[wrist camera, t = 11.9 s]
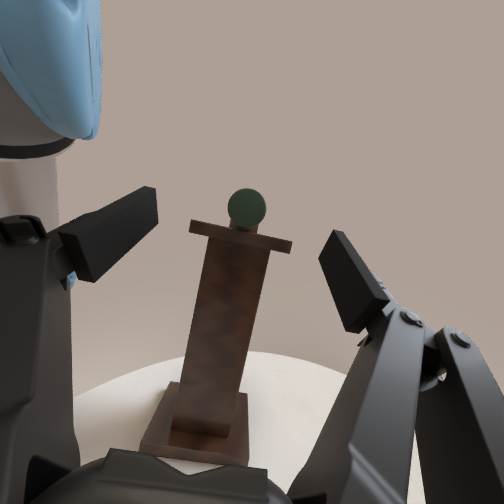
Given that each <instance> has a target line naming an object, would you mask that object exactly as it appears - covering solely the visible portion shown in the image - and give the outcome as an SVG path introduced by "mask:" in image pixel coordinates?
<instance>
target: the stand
mask: <svg viewBox="0 0 504 504" xmlns="http://www.w3.org/2000/svg"><path fill="white" fill-rule="evenodd" d="M189 232H190V233H195V234H199V235H204V236H209V239H208V244H207V249H206V254H205V259H204V264H203V269H202V274H201V279H200V284H199V289H198V294H197V299H196V304H195V309H194V314H193V319H192V324H191V329H190V334H189V339H188V344H187V349H186V354H185V359H184V364H183V369H182V374H181V379H180V383H178V382H172V381H171V382H170V383H169V385H168V387H167V389H166V391H165V394H164V396H163V398H162V400H161V402H160V404H159V406H158V408H157V410H156V412H155V414H154V416H153V418H152V420H151V422H150V424H149V426H148V428H147V430H146V432H145V434H144V436H143V438H142V440H141V442H140V447H139V452H143V453H150V454H152V455H154V456H161V457H169V458H176V459H184V460H192V461H199V462H207V463H214V464H222V465H230V464H231V465H238V466H245V467H247V466H248V462H249V429H248V396H247V393H241V392H239V387H240V383H241V378H242V374H243V370H244V365H245V361H246V356H247V352H248V347H249V343H250V338H251V334H252V330H253V325H254V321H255V317H256V312H257V307H258V303H259V299H260V294H261V290H262V286H263V281H264V277H265V273H266V268H267V264H268V259H269V255H270V251H271V250H274V251H278V252H283V253H287V254H289V253H290V250H291V246H292V242H291V241H288V240H283V239H278V238H274V237H269V236H265V235H260V234H256V233H251V232H247V231H242V230H238V229H233V228H229V227H224V226H220V225H215V224H211V223H206V222H201V221H197V220H191V222H190V227H189Z"/></svg>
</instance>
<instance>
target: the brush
mask: <svg viewBox="0 0 504 504" xmlns="http://www.w3.org/2000/svg"><path fill="white" fill-rule="evenodd" d="M228 213H229V216H230V218H231V221H230V226H229V228H233V229H238V230H242V231H247V232H251V233H256V234H257V230H258V225H259V223H260V222H261V221H262V220H263V218H264V216H265V213H266V203H265V200H264V198H263V197H262V195H261V194H260V193H259V192H257V191H255V190H253V189H249V188H247V189H246V188H245V189H240V190H238V191H236V192H235V193H234V194H233V195H232V196H231V198H230V199H229V202H228Z"/></svg>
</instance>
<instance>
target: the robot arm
mask: <svg viewBox="0 0 504 504" xmlns="http://www.w3.org/2000/svg"><path fill="white" fill-rule="evenodd" d="M101 73H102V29H101V11H100V0H0V504H407V495H408V485H409V476H410V467H411V458H412V449H413V439H414V430H415V433H416V440H417V447H418V454H419V460H420V467H421V474H422V481H423V487H424V494H425V501H426V504H504V396H503V394H502V392H501V390H500V388H499V386H498V384H497V382H496V381H495V379H494V377H493V375H492V373H491V371H490V369H489V367H488V365H487V364H486V362H485V360H484V358H483V356H482V354H481V353H480V351H479V349H478V347H477V346H476V344H474V342H473V341H472V340H471V339H470V338H469V337H468V336H467V335H465V334H464V333H462V332H460V331H458V330H456V329H454V328H451V327H446V326H445V327H444V328H442V329H441V330H440V331H438V332H437V331H435V330H433V329H430V328H428V327H426V326H425V324H424V322H423V321H422V320H421V319H420V318H419V317H418V316H417V315H416V314H415V313H413V312H412V311H410V310H408V309H406V308H404V307H400V306H399V305H398V304H397V302H396V301H395V300H394V298H393V297H392V295H391V294H390V292H389V291H388V290H387V289H386V287H385V286H384V284H383V283H382V281H381V280H380V279H379V277H378V276H377V275H375V274H374V273H373V272H372V271H371V270H369V269H368V267H367V266H366V264H365V263H364V261H363V260H362V259H361V257H360V256H359V254H358V253H357V251H356V250H355V248H354V247H353V245H352V244H351V243H350V241H349V240H348V238H347V237H346V235H345V234H344V232H342V231H338V230H333V231H332V233H331V235H330V237H329V238H328V241H327V242H326V244H325V246H324V248H323V250H322V252H321V254H320V256H319V258H318V259H319V262H320V264H321V267H322V270H323V272H324V275H325V278H326V281H327V283H328V286H329V288H330V291H331V294H332V297H333V299H334V302H335V304H336V307H337V310H338V312H339V315H340V317H341V320H342V323H343V326H344V328H345V331H346V332H352V333H357V334H359V333H360V332H361V331H362V330H363V329H364V328H365V327H366V329H367V332H368V335H367V336H366V337H365V338H364V339H363V340H362V341H361V342H360V343H359V344H358V345H357V346H358V347H359V346H360V345H361V347H360V349H359V351H358V353H357V355H356V357H355V359H354V362H353V364H352V366H351V368H350V370H349V372H348V375H347V377H346V379H345V381H344V383H343V385H342V387H341V390H340V392H339V394H338V396H337V398H336V400H335V403H334V405H333V407H332V409H331V411H330V413H329V416H328V418H327V420H326V422H325V424H324V426H323V428H322V431H321V433H320V435H319V437H318V439H317V441H316V444H315V446H314V448H313V450H312V452H311V454H310V456H309V459H308V460H307V462H306V464H305V465H304V467H303V468H302V469H301V471H300V472H299V473H298V474H297V476H296V478H295V479H294V481H293V483H292V485H291V486H290V488H289V490H288V493H287V495H286V494H285V493H284V492H283V491H282V490H281V489H280V488H279V487H278V486H277V485H276V484H275V483H273V482H272V481H271V480H269V479H268V478H267V469H260V468H253V467H245V466H238V465H231V464H230V465H227V466H223V467H219V468H215V469H211V470H207V471H203V472H200V473H196V474H192V475H186V474H184V473H182V472H180V471H179V470H177V469H175V468H174V467H172V466H170V465H169V464H167V463H165V462H164V461H162V460H160V459H159V458H157V457H155V456H154V455H152V454H150V453H143V452H136V451H129V450H121V449H114V448H110V449H109V451H108V453H107V456H106V457H104V458H100V459H98V460H95V461H92V462H90V463H87V464H85V465H83V466H81V467H80V454H79V447H78V443H77V440H76V437H75V434H74V428H73V393H72V392H73V391H72V349H71V348H72V347H71V303H70V302H71V301H70V289H71V288H72V287H73V285H74V282H75V279H76V276H77V278H78V280H82V281H87V282H92V283H95V282H96V281H97V280H98V279H99V278H100V277H101V276H102V275H103V274H105V273H106V272H107V271H108V270H109V269H110V268H111V267H112V266H113V265H114V264H115V263H116V262H118V260H120V259H121V258H122V257H123V256H124V255H125V254H126V253H127V252H128V251H129V250H130V249H131V248H132V247H134V246H135V245H136V244H137V243H138V242H139V241H140V240H141V239H142V238H143V237H144V236H145V235H147V233H149V232H150V231H151V230H152V229H153V228H154V227H155V226H156V225H157V224H158V211H157V200H156V189H155V188H151V187H146V186H144V187H142V188H140V189H138V190H136V191H134V192H132V193H130V194H128V195H126V196H125V197H122V198H121V199H119V200H117V201H115V202H113V203H111V204H109V205H107V206H105V207H103V208H101V209H100V210H97V211H94V212H90V213H86V214H83V215H81V216H79V217H78V218H76V219H74V220H72V221H70V222H69V223H66V224H64V225H62V226H60V227H59V213H58V192H57V172H56V156H57V155H59V154H61V153H63V152H65V151H66V150H68V149H69V148H70V147H71V146H72V144H74V142H75V140H76V139H83V140H90V139H93V138H94V137H95V136H96V134H97V130H98V127H99V118H100V110H101ZM445 372H446V373H447V374H446V378H445V380H444V381H443V378H442V374H444V373H445Z"/></svg>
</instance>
